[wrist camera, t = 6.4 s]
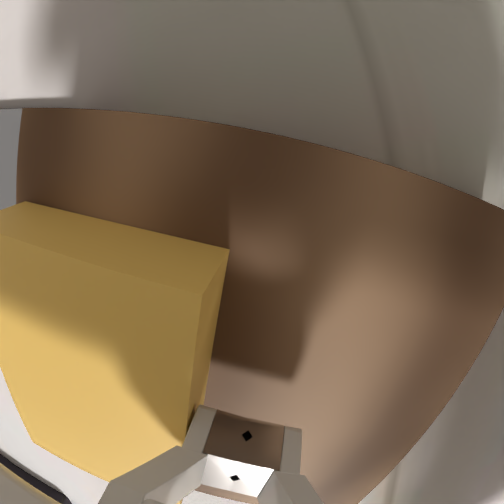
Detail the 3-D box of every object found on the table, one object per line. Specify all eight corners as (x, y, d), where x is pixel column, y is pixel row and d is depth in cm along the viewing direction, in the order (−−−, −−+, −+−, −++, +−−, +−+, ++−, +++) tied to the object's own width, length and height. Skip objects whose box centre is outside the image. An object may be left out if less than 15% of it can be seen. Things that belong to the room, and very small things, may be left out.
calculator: (80, 537, 27) (5, 495, 28) (88, 517, 31) (15, 479, 32) (57, 513, 23) (-23, 462, 24) (69, 490, 27) (-10, 445, 28)
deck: (482, 200, 10) (535, 225, 6) (344, 466, 15) (345, 514, 12) (82, 109, 11) (22, 107, 8) (87, 396, 16) (59, 434, 13)
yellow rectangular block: (229, 249, 8) (202, 295, 6) (194, 462, 12) (179, 507, 9) (25, 201, 9) (-31, 221, 6) (58, 408, 12) (33, 442, 10)
